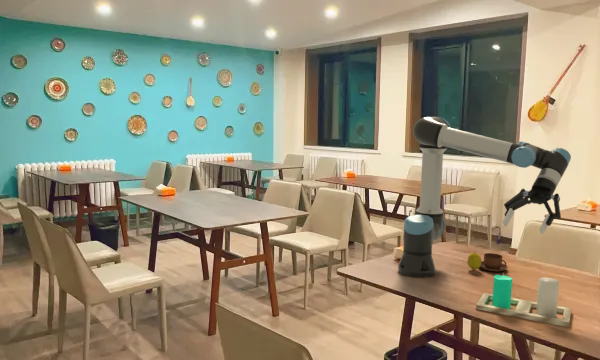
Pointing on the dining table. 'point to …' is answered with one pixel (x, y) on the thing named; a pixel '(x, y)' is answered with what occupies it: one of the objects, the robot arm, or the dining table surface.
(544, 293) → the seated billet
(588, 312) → the dining table surface
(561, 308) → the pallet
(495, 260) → the cup and saucer
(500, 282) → the candle
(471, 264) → the lemon
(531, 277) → the dining table surface
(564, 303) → the dining table surface
